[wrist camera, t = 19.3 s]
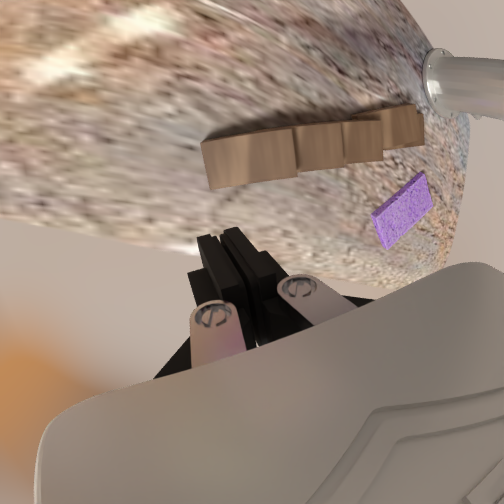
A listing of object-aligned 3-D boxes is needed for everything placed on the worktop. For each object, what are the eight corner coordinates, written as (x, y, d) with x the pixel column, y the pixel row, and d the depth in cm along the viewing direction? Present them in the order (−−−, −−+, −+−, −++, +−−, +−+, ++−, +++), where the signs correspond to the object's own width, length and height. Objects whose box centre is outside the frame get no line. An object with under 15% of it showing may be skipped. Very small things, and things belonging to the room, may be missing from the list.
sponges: (367, 213, 42) (375, 217, 40) (418, 170, 42) (426, 172, 40) (380, 246, 45) (387, 251, 44) (426, 203, 45) (434, 206, 44)
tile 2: (351, 114, 33) (407, 103, 32) (360, 151, 36) (414, 137, 35) (356, 115, 32) (415, 104, 31) (366, 153, 34) (421, 139, 33)
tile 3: (304, 123, 32) (374, 119, 32) (309, 163, 35) (376, 157, 34) (308, 125, 30) (381, 120, 30) (313, 167, 33) (383, 160, 32)
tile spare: (373, 113, 35) (413, 112, 37) (375, 148, 37) (415, 143, 39) (382, 114, 33) (423, 113, 35) (384, 150, 36) (424, 145, 38)
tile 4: (255, 130, 31) (335, 121, 30) (262, 172, 33) (339, 163, 33) (255, 132, 29) (340, 122, 28) (263, 177, 31) (344, 167, 31)
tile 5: (203, 140, 29) (289, 126, 29) (212, 184, 32) (295, 172, 31) (200, 143, 28) (291, 128, 27) (210, 189, 30) (297, 176, 29)
